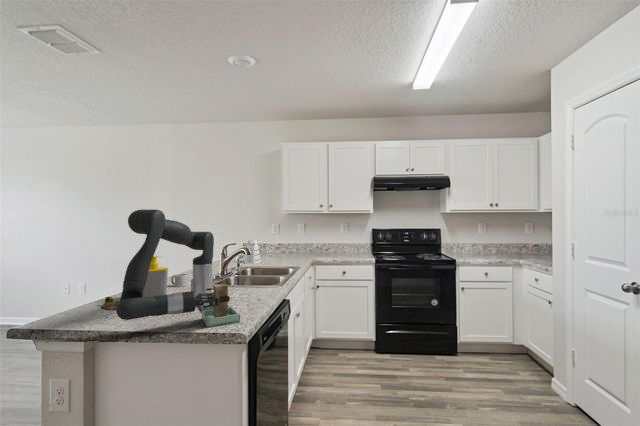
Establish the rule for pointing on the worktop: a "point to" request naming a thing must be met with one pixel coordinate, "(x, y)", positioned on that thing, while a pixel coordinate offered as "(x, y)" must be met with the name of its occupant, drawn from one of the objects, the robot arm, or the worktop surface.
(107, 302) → the seal
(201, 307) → the crank bed
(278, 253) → the worktop surface
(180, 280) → the mug
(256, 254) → the grater
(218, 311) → the brown wooden block
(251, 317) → the worktop surface
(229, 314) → the tray
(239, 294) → the worktop surface
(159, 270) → the soap bottle
